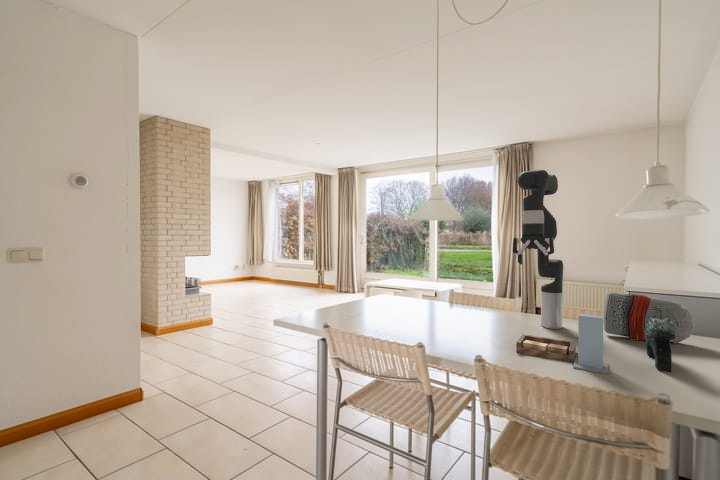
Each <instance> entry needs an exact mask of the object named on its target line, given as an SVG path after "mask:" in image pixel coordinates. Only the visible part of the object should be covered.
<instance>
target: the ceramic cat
mask: <svg viewBox="0 0 720 480" xmlns="http://www.w3.org/2000/svg"><path fill="white" fill-rule="evenodd" d="M659 311H660V314H662V308H660V309H659ZM656 316H657V317H658V319H654V318H655V317H656ZM645 339H646V340H645V348H646V355H648V356H649V357H648V356H647V357H648V358H651V357H655V358H654V361H655V362H654V363H655V364H654V366H655V368H656V369H657V371H658V372H665V371H666V372H667V373H672V365H673V364H672V362H673V361H672V360H673V358H672V347H671V343H670V340H672V339H675V329H674V325H673V323H672V322H671V321H670V318H666V319H664V320H662V315H660V319H659V316H658V315H654V317H653V318H650V319H649V321H648V324H646V325H645ZM666 372H665V373H666Z"/></svg>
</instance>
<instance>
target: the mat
mask: <svg viewBox="0 0 720 480" xmlns="http://www.w3.org/2000/svg"><path fill="white" fill-rule="evenodd" d="M572 368H573V369H577V370H580V371H581V370H582V371H587V372H593V373H597V374H598V373H599V374H604V375H609V373H610V371H609V370H610V369H609V363H608V362H603V369H602V368H597V367H591V366H585V365H579V364H578V357H574V362H573V365H572Z"/></svg>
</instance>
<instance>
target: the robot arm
mask: <svg viewBox="0 0 720 480" xmlns="http://www.w3.org/2000/svg"><path fill="white" fill-rule="evenodd" d="M517 185H518V187H519V188H520V189H521V190H523V191H525V190H527V191H528V190H529V191H530V194H528V195H525V196H524V197H523V199H522V219H521V222H522V223H521V224H522V226H521V227H522V229H521V230H522V232H521V234H522V236H521V238H520V237H513V241H512V253H513V254H517V263H518V264H519V265H523V253H524V252H525V250H527V249H528V250H531V249H532V250H536V251H537V273H538V276H539V277H540V278H547V279H548V278H549V279H554V281H552V282H550V283H546V284H542V285H541V286H540V287H541V288H540V325H541V327H542V328H546V329H553V330H554V329H555V330H557V329H563V285H564V284H563V279H564V262H563V260H561V259H556V258H555V259H554V258H550V255H552V254H554V253H555V242H554V241H555V239H556V238H557V236H558V227H557V224H558V223H557V220H556V218H555V217H554V216H553V214H552V213H551V212H550V211H549V210H548V209H547V208H546V207H545V205H544V199H545V198H544V197H545V196H550V195H554V194H556V193H557V191H558V190H559V181H558V177H557V176H556V175H555V174H549V173H548V172H547V170H545V169H538V170H536V169H535V170H526V171H522V172H521V173H519V175H518V177H517ZM520 242H521V243H522V244H523V245H522V246H521V247H520V248H519V250H518V244H519V243H520ZM548 250H549V251H548Z"/></svg>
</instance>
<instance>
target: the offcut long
mask: <svg viewBox="0 0 720 480" xmlns="http://www.w3.org/2000/svg"><path fill="white" fill-rule="evenodd" d="M523 348H529V349H535V350H541V351H547V352H548V344H545V343H540V342H535V341H529V340H525V341H524V342H523Z"/></svg>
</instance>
